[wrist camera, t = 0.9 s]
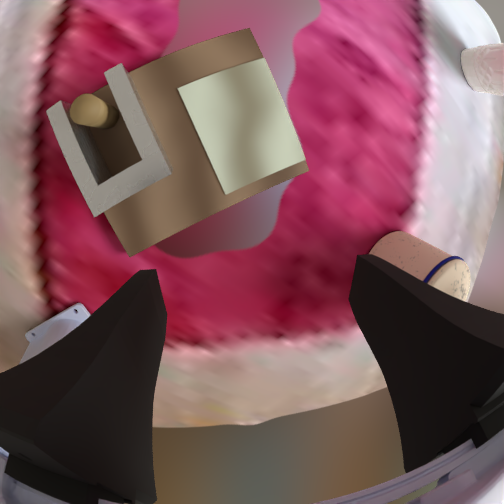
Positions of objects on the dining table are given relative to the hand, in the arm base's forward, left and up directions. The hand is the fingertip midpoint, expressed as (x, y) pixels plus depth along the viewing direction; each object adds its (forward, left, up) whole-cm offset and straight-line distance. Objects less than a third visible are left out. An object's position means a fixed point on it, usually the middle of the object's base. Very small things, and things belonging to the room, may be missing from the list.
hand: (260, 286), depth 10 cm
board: (0, +6, -14) cm, 15 cm away
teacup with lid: (+15, -16, -14) cm, 26 cm away
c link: (-4, +8, -13) cm, 16 cm away
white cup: (+40, +5, -14) cm, 43 cm away
